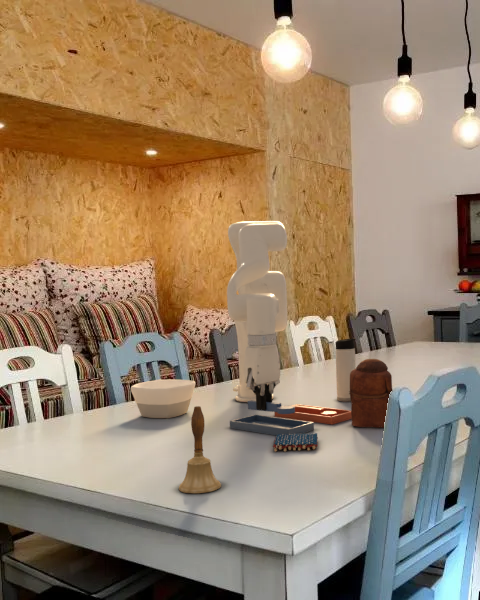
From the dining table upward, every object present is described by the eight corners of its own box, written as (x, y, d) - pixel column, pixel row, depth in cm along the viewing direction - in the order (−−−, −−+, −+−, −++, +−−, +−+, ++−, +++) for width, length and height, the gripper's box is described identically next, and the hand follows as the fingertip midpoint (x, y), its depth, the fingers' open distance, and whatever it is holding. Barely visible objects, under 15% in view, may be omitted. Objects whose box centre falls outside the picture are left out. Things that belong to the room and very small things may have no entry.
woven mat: (275, 441, 179) (274, 433, 179) (318, 440, 178) (317, 432, 178) (272, 452, 168) (271, 443, 168) (317, 450, 168) (317, 442, 168)
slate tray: (229, 428, 196) (229, 420, 196) (255, 421, 204) (255, 414, 204) (288, 437, 183) (288, 429, 183) (314, 429, 190) (313, 422, 190)
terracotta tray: (274, 416, 210) (274, 409, 210) (297, 410, 218) (296, 404, 218) (332, 424, 196) (331, 417, 196) (354, 417, 204) (354, 410, 204)
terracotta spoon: (287, 414, 210) (287, 406, 210) (298, 411, 214) (297, 404, 214) (330, 419, 200) (329, 411, 200) (340, 416, 204) (339, 409, 204)
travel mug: (356, 401, 229) (354, 338, 228) (335, 401, 230) (333, 339, 230) (358, 398, 235) (356, 337, 234) (338, 398, 237) (336, 337, 236)
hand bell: (180, 482, 146) (177, 404, 145) (221, 480, 146) (218, 402, 146) (176, 495, 138) (173, 412, 137) (220, 492, 138) (217, 409, 138)
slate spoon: (243, 410, 196) (243, 402, 196) (255, 407, 200) (255, 399, 200) (287, 414, 186) (286, 406, 186) (298, 411, 190) (298, 403, 190)
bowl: (205, 410, 223) (204, 380, 223) (172, 422, 207) (170, 389, 207) (158, 407, 231) (156, 378, 230) (122, 418, 215) (120, 387, 214)
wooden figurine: (396, 423, 194) (394, 357, 194) (392, 429, 188) (390, 360, 187) (352, 422, 197) (350, 357, 197) (348, 428, 191) (346, 360, 191)
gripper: (271, 338, 202) (273, 403, 203) (231, 343, 190) (233, 412, 191) (291, 338, 197) (293, 405, 198) (251, 344, 186) (254, 415, 186)
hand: (264, 408), depth 194 cm, fingers closed on slate spoon, 1 cm apart
